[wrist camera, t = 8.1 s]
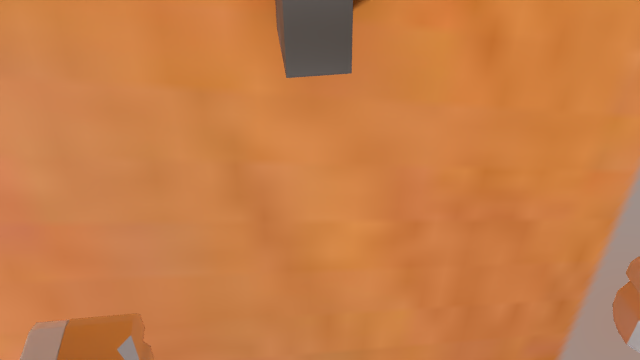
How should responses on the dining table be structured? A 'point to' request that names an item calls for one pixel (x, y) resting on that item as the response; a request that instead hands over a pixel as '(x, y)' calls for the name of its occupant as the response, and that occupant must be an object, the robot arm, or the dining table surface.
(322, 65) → the hammer
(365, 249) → the dining table surface
